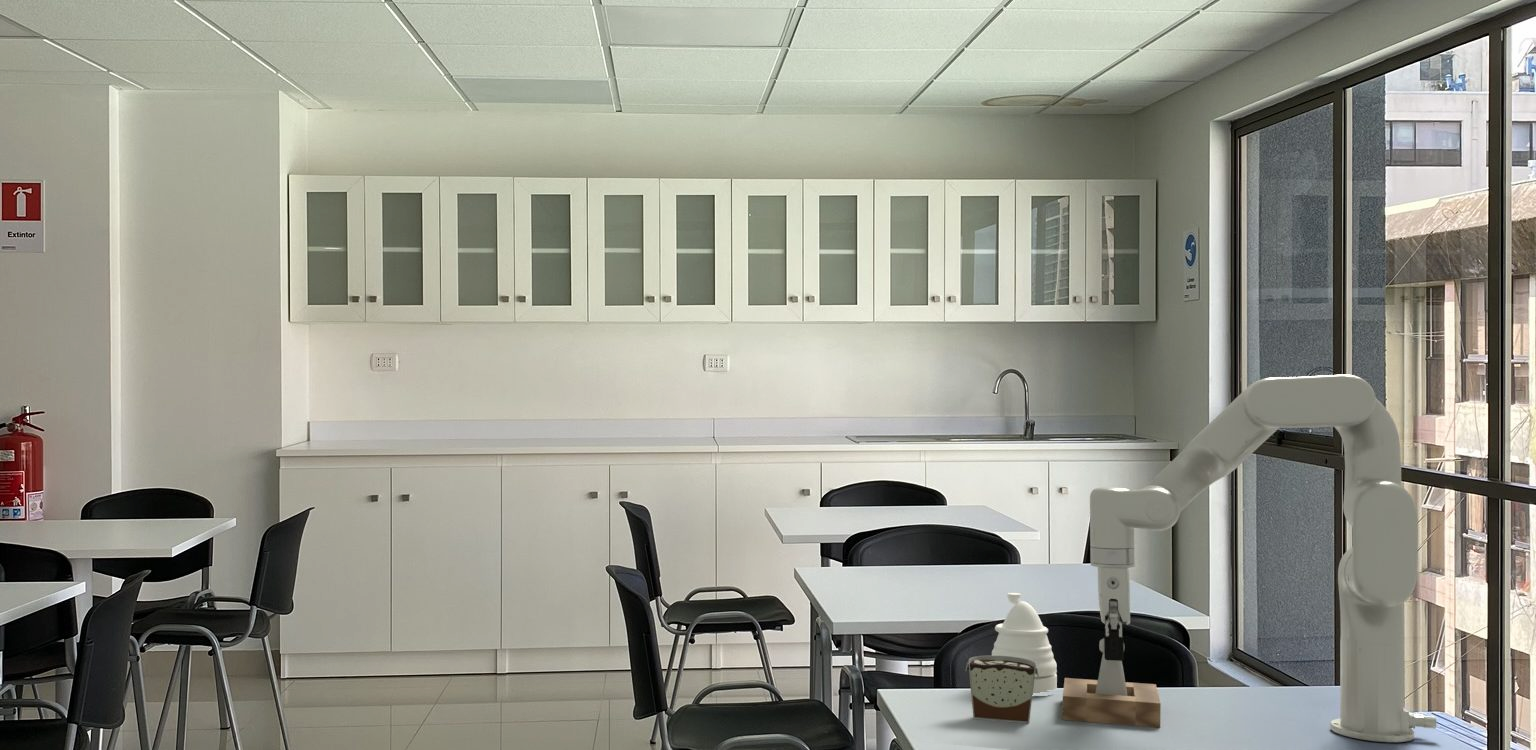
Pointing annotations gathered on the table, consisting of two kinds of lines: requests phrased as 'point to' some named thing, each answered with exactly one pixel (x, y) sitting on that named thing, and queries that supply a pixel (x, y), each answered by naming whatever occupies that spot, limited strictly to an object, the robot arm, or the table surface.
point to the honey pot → (1027, 642)
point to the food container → (1001, 687)
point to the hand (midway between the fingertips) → (1113, 655)
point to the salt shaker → (1110, 676)
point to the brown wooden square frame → (1111, 704)
